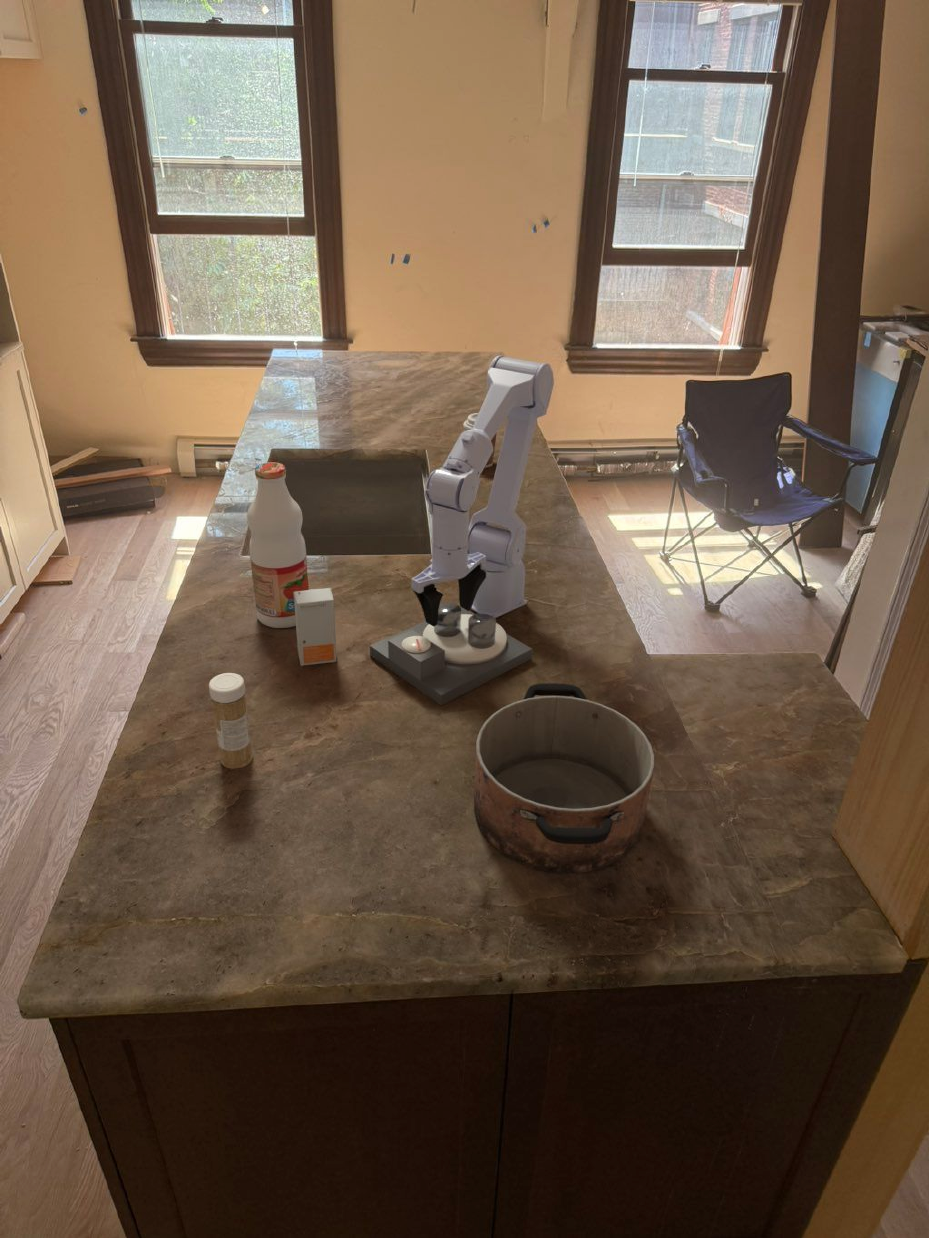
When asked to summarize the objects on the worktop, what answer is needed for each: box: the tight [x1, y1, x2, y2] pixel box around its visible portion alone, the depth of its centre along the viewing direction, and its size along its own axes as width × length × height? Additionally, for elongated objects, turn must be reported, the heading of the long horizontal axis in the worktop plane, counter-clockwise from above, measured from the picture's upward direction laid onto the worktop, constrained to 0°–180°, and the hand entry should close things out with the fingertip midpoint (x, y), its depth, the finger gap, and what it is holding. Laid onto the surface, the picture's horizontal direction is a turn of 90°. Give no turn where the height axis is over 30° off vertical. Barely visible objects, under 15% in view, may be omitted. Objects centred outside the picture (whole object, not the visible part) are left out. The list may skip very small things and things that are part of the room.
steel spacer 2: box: [468, 613, 497, 649], centre depth 144 cm, size 4×4×4 cm
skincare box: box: [293, 587, 337, 667], centre depth 142 cm, size 6×4×12 cm
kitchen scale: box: [369, 605, 533, 706], centre depth 144 cm, size 20×18×6 cm
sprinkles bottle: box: [208, 672, 254, 769], centre depth 119 cm, size 5×5×13 cm
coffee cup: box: [462, 412, 500, 469], centre depth 218 cm, size 9×9×12 cm
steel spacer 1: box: [434, 602, 461, 637], centre depth 146 cm, size 4×4×4 cm
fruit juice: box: [246, 461, 310, 629], centre depth 148 cm, size 9×9×28 cm
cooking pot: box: [473, 682, 655, 874], centre depth 113 cm, size 30×22×11 cm
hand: (448, 615), depth 146 cm, fingers open, 7 cm apart
